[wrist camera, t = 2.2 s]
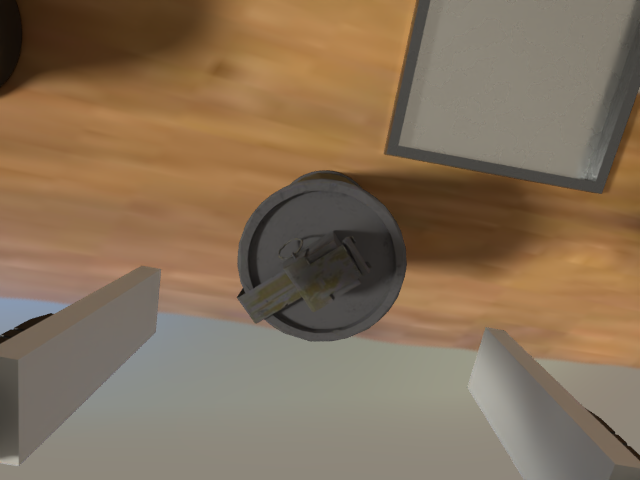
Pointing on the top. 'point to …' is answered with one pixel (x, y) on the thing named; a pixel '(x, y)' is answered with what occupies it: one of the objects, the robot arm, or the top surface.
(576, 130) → the shallow grey tray
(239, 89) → the top surface
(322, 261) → the canister
